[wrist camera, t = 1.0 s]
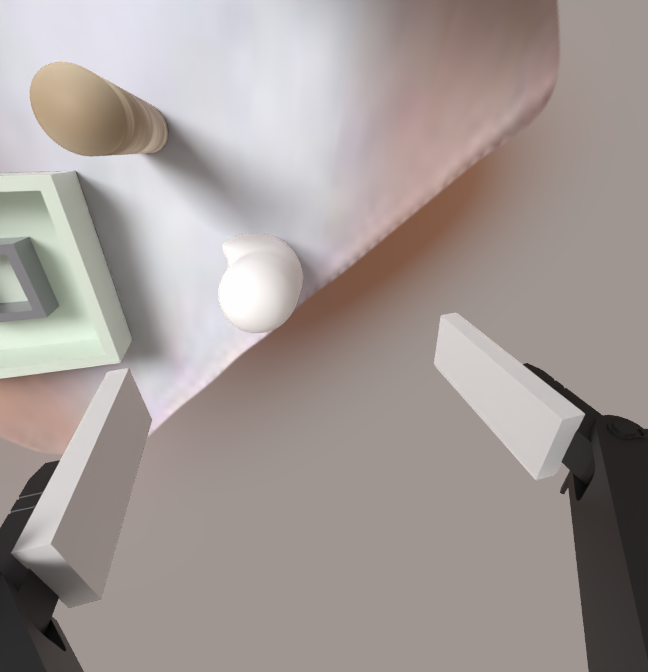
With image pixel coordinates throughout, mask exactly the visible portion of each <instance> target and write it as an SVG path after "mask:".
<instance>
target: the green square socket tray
mask: <svg viewBox="0 0 648 672" xmlns="http://www.w3.org/2000/svg"><path fill="white" fill-rule="evenodd" d="M131 342H132V337H131V334H130V331H129V328H128V325H127V322H126V319H125V316H124V313H123V310H122V307H121V304H120V301H119V299H118V296H117V293H116V290H115V287H114V284H113V281H112V278H111V275H110V272H109V269H108V266H107V263H106V260H105V257H104V254H103V251H102V248H101V245H100V242H99V239H98V236H97V233H96V231H95V228H94V225H93V222H92V219H91V216H90V213H89V210H88V207H87V204H86V201H85V198H84V195H83V192H82V189H81V186H80V183H79V180H78V177H77V174H76V171H56V172H16V173H0V379H1V378H9V377H17V376H24V375H32V374H40V373H47V372H55V371H62V370H70V369H78V368H85V367H93V366H100V365H108V364H116V363H121V361H122V359H123V357H124V355H125V353H126V351H127V349H128V347H129V346H130V344H131Z"/></svg>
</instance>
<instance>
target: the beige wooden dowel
mask: <svg viewBox="0 0 648 672" xmlns="http://www.w3.org/2000/svg"><path fill="white" fill-rule="evenodd" d="M30 101H31V106H32V110H33V112H34V115H35V117H36V119H37V121H38V123H39V124H40V126H41V127H42V129H43V130H44V131H45V132H46V134H47V135H48V136H49V137H50V138H51V139H52V140H53V141H55V142H56V143H57V144H58V145H60V146H61V147H63V148H65V149H66V150H68V151H70V152H73V153H75V154H79V155H83V156H107V155H125V154H143V153H154V152H157V151H159V150H161V149H162V148H163V147H164V146H165V144H166V142H167V140H168V127H167V123H166V121H165V119H164V117H163V116H162V114H161V113H160V112H159V111H158V110H157V109H156V108H155V107H154V106H152V105H150V104H149V103H147V102H145V101H143V100H141V99H140V98H138V97H136V96H134V95H132V94H131V93H129V92H127V91H125V90H123V89H122V88H120V87H118V86H116V85H114V84H113V83H111V82H109V81H107V80H105V79H104V78H102V77H100V76H98V75H96V74H94V73H93V72H91V71H89V70H87V69H85V68H83V67H81V66H79V65H76V64H72V63H67V62H55V63H51V64H48V65H46V66H44V67H43V68H41V69H40V70H39V71H38V72H37V73H36V75H35V76H34V78H33V80H32V83H31V87H30Z"/></svg>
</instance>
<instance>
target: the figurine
mask: <svg viewBox="0 0 648 672" xmlns="http://www.w3.org/2000/svg"><path fill="white" fill-rule="evenodd" d="M222 249H223V252H224V254H225V256H226V258H227V260H228V269H227V270H226V272H225V273H224V275H223V277H222V281H221V283H220V285H219V290H218V298H219V304H220V307H221V310H222V312H223V314H224V315H225V317H226V318H227V320H228V321H229V322H230V323H231V324H232V325H234V326H235V327H236V328H238V329H240V330H242V331H245V332H250V333H263V332H268V331H271V330H274V329H276V328H277V327H279V326H281V325H282V324H283V323H284V322H285V321H286V320H287V319H288V318H289V317H290V315H291V314H292V312H293V311H294V309H295V307H296V305H297V303H298V299H299V295H300V293H301V290H302V285H303V272H302V267H301V264H300V262H299V259H298V257H297V256H296V254H295V252H294V251H293V250H292V249H291V247H290V246H289V245H288V244H287V243H285V242H284V241H283V240H281V239H279V238H277V237H275V236H272V235H268V234H242V235H238V236H235V237H233V238H231V239H229V240H228V241H226V242H225V243H224V244H223V246H222Z"/></svg>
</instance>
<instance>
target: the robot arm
mask: <svg viewBox="0 0 648 672" xmlns="http://www.w3.org/2000/svg"><path fill="white" fill-rule="evenodd" d="M434 365H435V366H436V368H437V369H438V370H439V371H440V372H441V373H442V374H443V376H445V378H446V379H447V380H448V381H449V382H450V384H451V385H452V386H453V387H454V388H455V389H456V390H457V391H458V392H459V394H460V395H461V396H462V397H463V398H464V399H465V400H466V402H467V403H468V404H469V405H470V406H471V407H472V408H473V409H474V411H475V412H476V413H477V414H478V415H479V416H480V418H481V419H482V420H483V421H484V422H485V423H486V424H487V425H488V427H489V428H490V429H491V430H492V431H493V432H494V433H495V434H496V436H497V437H498V438H499V439H500V440H501V441H502V442H503V444H504V445H505V446H506V447H507V448H508V449H509V450H510V452H511V453H512V454H513V455H514V456H515V457H516V458H517V459H518V461H519V462H520V463H521V464H522V465H523V466H524V467H525V468H526V470H527V471H528V472H529V473H530V474H531V475H532V476H533V478H534V479H535V480H539V479H542V478H546V477H549V476H553V475H556V474H557V471H558V469H559V467H560V465H561V463H563V464H564V465H565V466H566V467H567V468H569V470H570V471H569V473H568V475H567V477H566V479H565V481H564V483H563V485H562V487H561V491H560V493H562V494H564V493H565V491H566V490H567V488H569V497H570V506H571V515H572V524H573V533H574V542H575V551H576V560H577V570H578V578H579V587H580V597H581V606H582V615H583V623H584V632H585V642H586V650H587V660H588V669H589V672H648V429H643V428H642V427H640V426H639V425H638V424H636V423H634V422H632V421H630V420H628V419H625V418H622V417H619V416H613V415H604V416H603V415H601V414H600V413H599V412H597V411H596V410H595V409H593V408H592V407H591V406H589V405H588V404H587V403H585V402H584V401H583V400H581V399H580V398H579V397H577V396H576V395H575V394H573V393H572V392H571V391H569V390H568V389H567V388H564V387H563V385H561V384H560V383H559V382H557V381H554V379H553V378H552V377H551V376H549V375H548V374H547V373H546V372H544V371H543V370H541V369H539V368H536V367H534V366H532V365H530V364H528V363H526V364H521V363H520V362H519V361H517V360H516V359H515V358H513V357H512V356H511V355H510V354H508V353H507V352H506V351H505V350H503V349H502V348H501V347H499V346H498V345H497V344H496V343H494V342H493V341H492V340H491V339H489V338H488V337H487V336H486V335H484V334H483V333H482V332H480V331H479V330H478V329H477V328H475V327H474V326H473V325H471V324H470V323H469V322H468V321H466V320H465V319H464V318H463V317H461V316H460V315H459V314H457V313H451V314H446V315H441V319H440V326H439V333H438V339H437V346H436V353H435V360H434ZM151 422H152V419H151V416H150V414H149V412H148V410H147V407H146V405H145V403H144V401H143V399H142V396H141V394H140V392H139V390H138V387H137V385H136V383H135V381H134V378H133V376H132V374H131V372H130V369H129V368H126V369H120V370H114V371H108V372H107V373H106V375H105V377H104V379H103V381H102V383H101V385H100V386H99V388H98V390H97V392H96V394H95V396H94V398H93V400H92V401H91V403H90V405H89V407H88V409H87V411H86V413H85V415H84V417H83V418H82V420H81V422H80V424H79V426H78V428H77V430H76V432H75V434H74V435H73V437H72V439H71V441H70V443H69V445H68V447H67V449H66V451H65V452H64V454H63V456H62V458H61V460H59V461H54V462H49V463H45V464H44V465H43V466H42V467H41V468H40V469H39V470H38V471H37V472H36V473H35V474H34V475H33V476H32V477H31V478H30V479H29V481H28V482H27V484H26V485H25V487H24V489H23V491H22V492H21V494H20V496H19V500H17V501H16V502H15V504H14V506H13V508H12V509H11V514H8V516H7V518H6V519H5V521H4V523H3V524H2V526H1V528H0V672H84V671H83V669H82V667H81V666H80V664H79V662H78V660H77V658H76V656H75V654H74V652H73V651H72V648H71V647H70V645H69V643H68V641H67V639H66V637H65V635H64V633H63V631H62V630H61V628H60V626H59V624H58V622H57V620H55V619H54V618H53V617H52V614H53V612H54V609H55V606H56V604H57V601H58V598H59V599H60V600H61V601H62V602H63V603H64V604H65V605H66V606H67V607H68V608H72V607H75V606H79V605H83V604H86V603H89V602H93V601H97V600H100V599H101V598H102V595H103V591H104V588H105V584H106V581H107V577H108V573H109V570H110V566H111V563H112V559H113V556H114V552H115V549H116V545H117V541H118V538H119V535H120V531H121V528H122V524H123V520H124V517H125V513H126V510H127V506H128V503H129V499H130V496H131V492H132V489H133V485H134V482H135V478H136V475H137V471H138V467H139V464H140V460H141V457H142V453H143V450H144V446H145V442H146V439H147V436H148V432H149V429H150V425H151Z"/></svg>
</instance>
